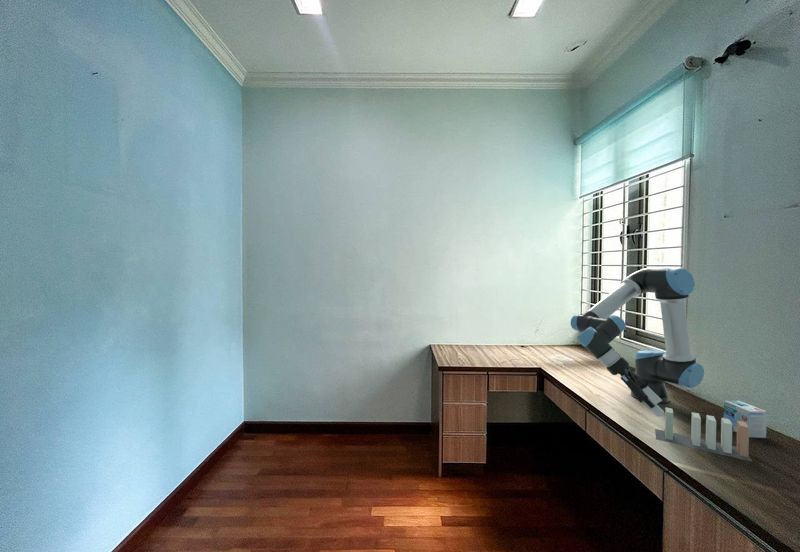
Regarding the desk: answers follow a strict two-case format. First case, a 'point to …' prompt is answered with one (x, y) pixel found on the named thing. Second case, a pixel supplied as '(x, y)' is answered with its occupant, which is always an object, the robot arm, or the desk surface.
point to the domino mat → (687, 442)
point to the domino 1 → (669, 423)
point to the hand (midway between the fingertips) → (660, 408)
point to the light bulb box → (746, 417)
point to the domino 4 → (726, 435)
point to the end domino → (742, 438)
